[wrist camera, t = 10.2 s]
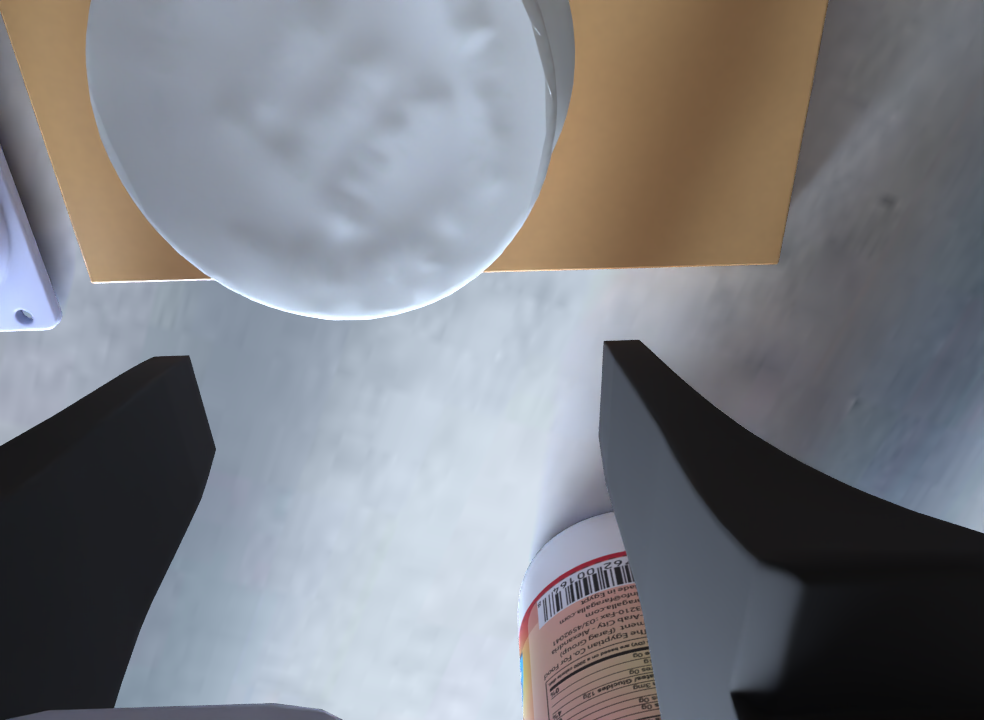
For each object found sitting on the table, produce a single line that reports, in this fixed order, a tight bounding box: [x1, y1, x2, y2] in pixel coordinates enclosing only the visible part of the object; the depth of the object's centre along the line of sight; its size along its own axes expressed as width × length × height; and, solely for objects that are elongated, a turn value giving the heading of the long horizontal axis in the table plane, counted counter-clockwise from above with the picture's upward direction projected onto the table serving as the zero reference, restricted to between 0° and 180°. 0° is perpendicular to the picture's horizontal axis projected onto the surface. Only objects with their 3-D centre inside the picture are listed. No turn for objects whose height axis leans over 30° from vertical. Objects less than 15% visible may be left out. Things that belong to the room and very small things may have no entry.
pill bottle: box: [86, 0, 575, 320], centre depth 13 cm, size 6×6×11 cm
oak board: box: [0, 0, 829, 283], centre depth 18 cm, size 20×14×2 cm
